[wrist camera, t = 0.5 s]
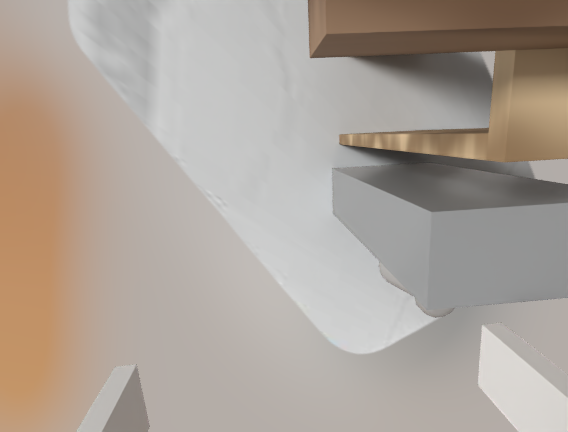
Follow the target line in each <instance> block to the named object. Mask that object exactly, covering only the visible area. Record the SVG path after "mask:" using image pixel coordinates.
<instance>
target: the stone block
mask: <svg viewBox="0 0 568 432" xmlns="http://www.w3.org/2000/svg"><path fill="white" fill-rule="evenodd" d="M332 182H333V214H334V215H335V216H336V217H337V218H338V219H339V220H340V221H341V222H342V223H343V224H344V225H345V226H346V227H347V228H348V229H349V230H350V232H351V233H352V234H353V235H354V236H355V237H356V238H357V239H358V240H359V241H360V242H361V243H362V244H363V245H364V246H365V247H366V248H367V249H368V250H369V251H370V252H371V253H372V254H373V255H374V256H375V257H376V258H377V259H378V260H379V261H380V262H381V263H382V264H383V265H384V266H385V268H386V269H387V270H388V271H389V272H390V273H391V274H392V275H393V276H394V277H395V278H396V279H397V280H398V281H399V282H400V283H401V284H402V285H403V286H404V287H405V288H406V289H407V290H408V291H409V292H410V293H411V294H412V295H413V296H414V297H415V298H416V299H417V300H418V301H419V302H420V304H421V305H422V306H423V307H424V308H425V309H426V310H433V309H445V308H456V307H467V306H479V305H490V304H502V303H513V302H525V301H536V300H548V299H559V298H568V184H562V183H556V182H549V181H543V180H537V179H530V178H524V177H518V176H511V175H505V174H499V173H492V172H486V171H480V170H474V169H467V168H461V167H455V166H448V165H442V164H436V163H414V164H398V165H381V166H364V167H347V168H332Z"/></svg>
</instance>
